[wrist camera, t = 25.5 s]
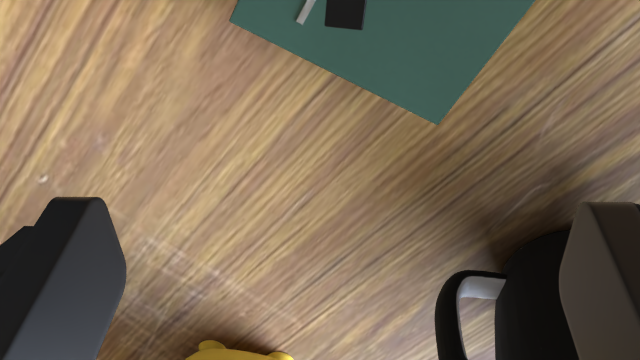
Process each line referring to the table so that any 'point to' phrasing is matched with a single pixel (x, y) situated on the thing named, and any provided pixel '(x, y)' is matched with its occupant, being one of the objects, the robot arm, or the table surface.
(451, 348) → the mug
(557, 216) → the table surface
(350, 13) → the black flat block
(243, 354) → the teapot
